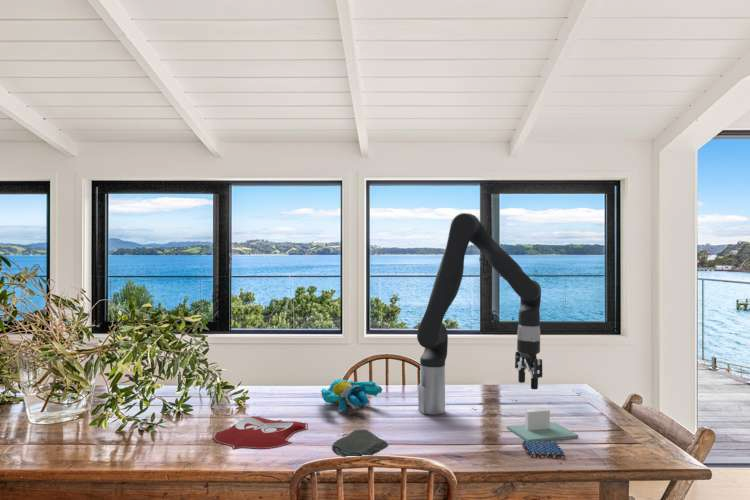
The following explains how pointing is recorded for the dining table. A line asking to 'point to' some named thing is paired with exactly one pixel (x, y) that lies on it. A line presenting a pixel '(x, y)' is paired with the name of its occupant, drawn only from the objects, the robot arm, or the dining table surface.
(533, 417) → the rectangular block
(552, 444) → the woven mat
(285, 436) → the emblem
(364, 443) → the stone slab
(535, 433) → the mat
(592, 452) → the dining table surface
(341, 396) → the toy
